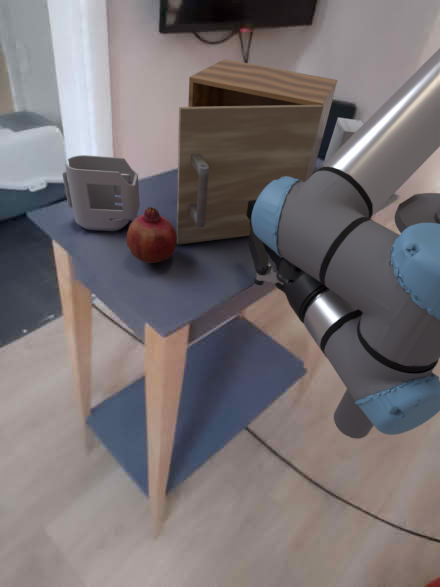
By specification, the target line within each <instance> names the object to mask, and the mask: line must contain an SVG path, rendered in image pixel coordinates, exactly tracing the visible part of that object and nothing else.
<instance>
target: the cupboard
mask: <svg viewBox="0 0 440 587" xmlns="http://www.w3.org/2000/svg"><path fill="white" fill-rule="evenodd" d="M337 84H338V79H336V78H335V79H333V78H329V77H324V76H317V75H313V74H307V73H302V72H296V71H291V70H285V69H280V68H275V67H271V66H264V65H258V64H254V63H249V62H243V61H238V60H232V59H226V58H224V59H222V60H219V61H218V62H216V63H214V64H212V65H210V66H208V67H206V68H203V69H202V70H200V71H198V72H195V73H194V74H192V75H191V76H189V77H188V103H187V104H188V105H187V107H213V106H275V105H322V106H323V110H322V114H321V118H320V122H319V126H318V130H317V134H316V138H315V142H314V146H313V150H312V154H311V158H310V162H309V166H308V170H307V174H306V178H305V182H306V181H307V180H308V179H309V178H310V177H311V176H312V175H313V174H314V173H315V167H316V164H317V160H318V157H319V156H318V155H319V152H320V148H321V145H322V141H323V138H324V135H325V130H326V126H327V123H328V118H329V114H330V110H331V107H332V103H333V100H334V95H335V92H336V88H337Z"/></svg>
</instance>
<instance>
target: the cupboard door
mask: <svg viewBox="0 0 440 587" xmlns="http://www.w3.org/2000/svg"><path fill="white" fill-rule="evenodd" d="M322 110H323V106H322V105H275V106H213V107H188V106H179V107H178V141H177V142H178V143H177V148H178V149H177V150H178V151H177V157H178V158H177V192H176V193H177V195H176V196H177V199H176V234H177V240H176V244H177V245H185V244H194V243H201V242H209V241H217V240H225V239H232V238H233V239H234V238H241V237H249V236H250V230H251V227H250V220H249V219H248V217H247V216H246V215H247V208H248V202H249V201H251V200H257V199H258V197H259V195H260V194H261V192H262V191H263V190H264V188H265V187H266V186H267V185H268V184H269V183H271V182H272V181H273V180H278V179H280V178H281V177H284V176H288V177H292V178H294V179H300V180H302V181H303V182H305V178H306V174H307V170H308V166H309V162H310V158H311V154H312V150H313V146H314V142H315V138H316V134H317V130H318V126H319V122H320V118H321V114H322Z"/></svg>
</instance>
